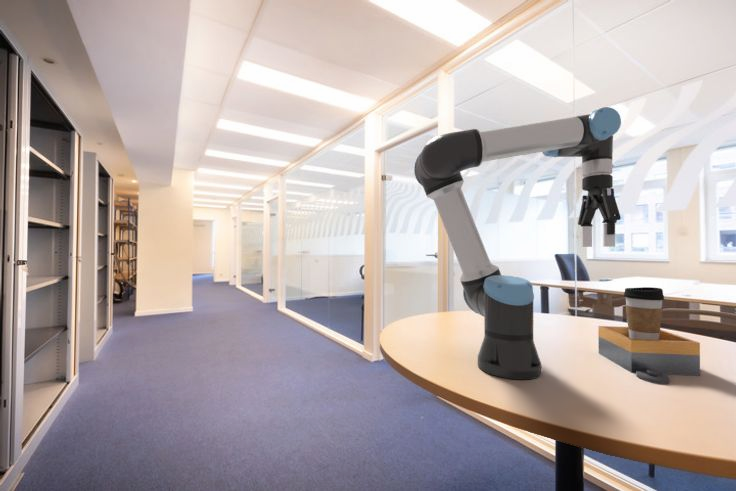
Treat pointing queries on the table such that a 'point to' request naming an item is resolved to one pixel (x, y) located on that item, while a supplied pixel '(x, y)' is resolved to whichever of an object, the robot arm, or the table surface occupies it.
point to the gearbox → (650, 351)
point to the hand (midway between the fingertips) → (597, 246)
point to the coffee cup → (644, 312)
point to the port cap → (652, 376)
